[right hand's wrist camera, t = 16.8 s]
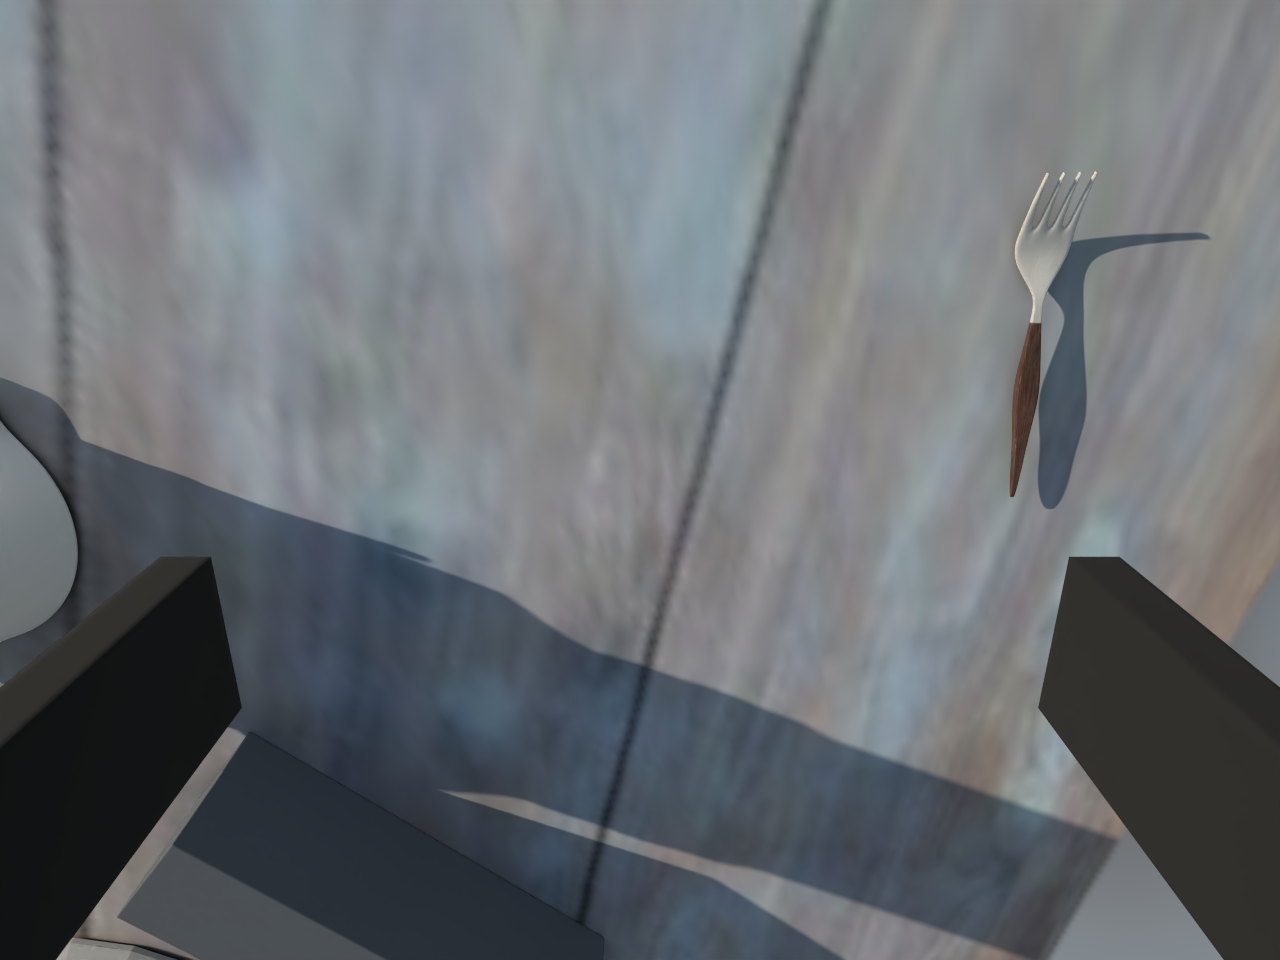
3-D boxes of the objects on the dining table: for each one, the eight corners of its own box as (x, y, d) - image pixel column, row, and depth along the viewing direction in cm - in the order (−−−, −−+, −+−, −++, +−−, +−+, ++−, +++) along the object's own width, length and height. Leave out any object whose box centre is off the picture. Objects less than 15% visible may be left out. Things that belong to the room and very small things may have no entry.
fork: (982, 493, 44) (998, 508, 42) (1023, 172, 38) (1042, 173, 36) (1032, 492, 44) (1049, 507, 42) (1079, 170, 38) (1102, 171, 36)
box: (200, 796, 51) (115, 917, 43) (250, 731, 49) (171, 844, 41) (549, 989, 57) (534, 1129, 49) (604, 937, 55) (598, 1073, 47)
